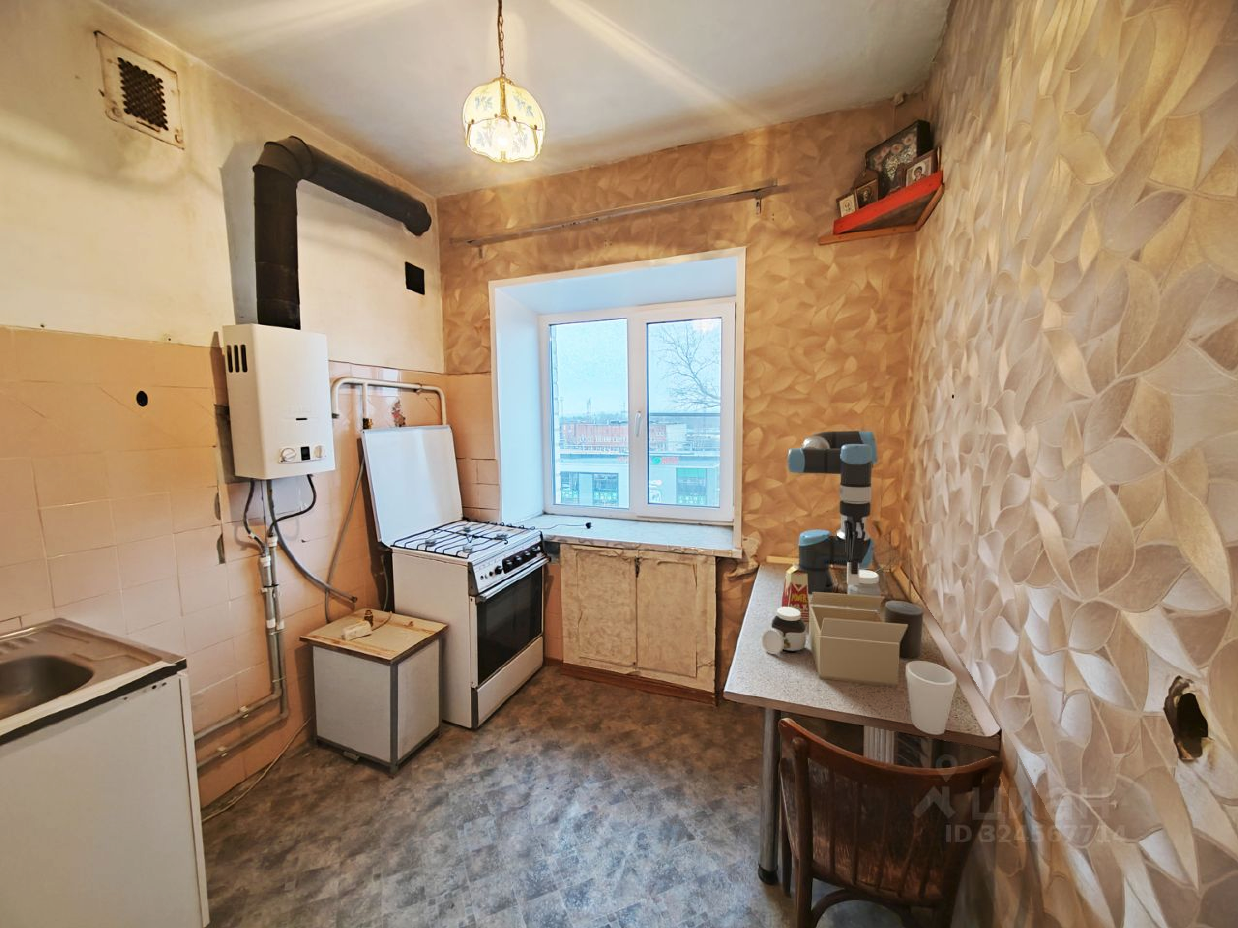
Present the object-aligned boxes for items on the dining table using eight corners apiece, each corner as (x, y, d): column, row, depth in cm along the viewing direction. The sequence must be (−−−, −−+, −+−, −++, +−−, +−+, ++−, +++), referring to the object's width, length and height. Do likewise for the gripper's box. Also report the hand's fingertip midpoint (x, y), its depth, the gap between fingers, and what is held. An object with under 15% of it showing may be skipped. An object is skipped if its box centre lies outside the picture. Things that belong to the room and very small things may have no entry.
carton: (808, 641, 141) (809, 605, 140) (875, 647, 136) (877, 610, 135) (819, 678, 122) (820, 636, 121) (897, 687, 117) (899, 644, 116)
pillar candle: (901, 661, 129) (904, 612, 127) (875, 644, 138) (877, 598, 136) (929, 656, 131) (932, 608, 129) (901, 640, 140) (903, 594, 139)
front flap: (824, 617, 115) (824, 618, 115) (907, 624, 110) (907, 625, 110) (820, 634, 121) (820, 635, 121) (899, 641, 116) (899, 643, 116)
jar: (847, 628, 148) (848, 576, 146) (846, 616, 157) (847, 566, 155) (881, 634, 144) (882, 580, 142) (878, 620, 153) (880, 570, 151)
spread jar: (807, 645, 139) (808, 609, 138) (801, 663, 130) (802, 625, 128) (768, 636, 145) (768, 602, 144) (759, 653, 136) (759, 616, 134)
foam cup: (894, 712, 108) (896, 662, 106) (930, 709, 108) (933, 659, 107) (924, 741, 98) (927, 686, 97) (963, 737, 99) (967, 682, 98)
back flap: (884, 597, 128) (884, 596, 128) (813, 592, 133) (812, 591, 133) (877, 609, 135) (877, 607, 135) (809, 604, 140) (809, 602, 140)
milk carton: (812, 625, 152) (813, 568, 150) (784, 623, 154) (784, 567, 151) (807, 613, 161) (808, 559, 158) (780, 611, 163) (780, 558, 160)
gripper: (835, 496, 129) (833, 574, 132) (845, 505, 117) (843, 591, 120) (863, 496, 127) (861, 576, 130) (877, 506, 115) (874, 594, 118)
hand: (852, 583), depth 125 cm, fingers closed
